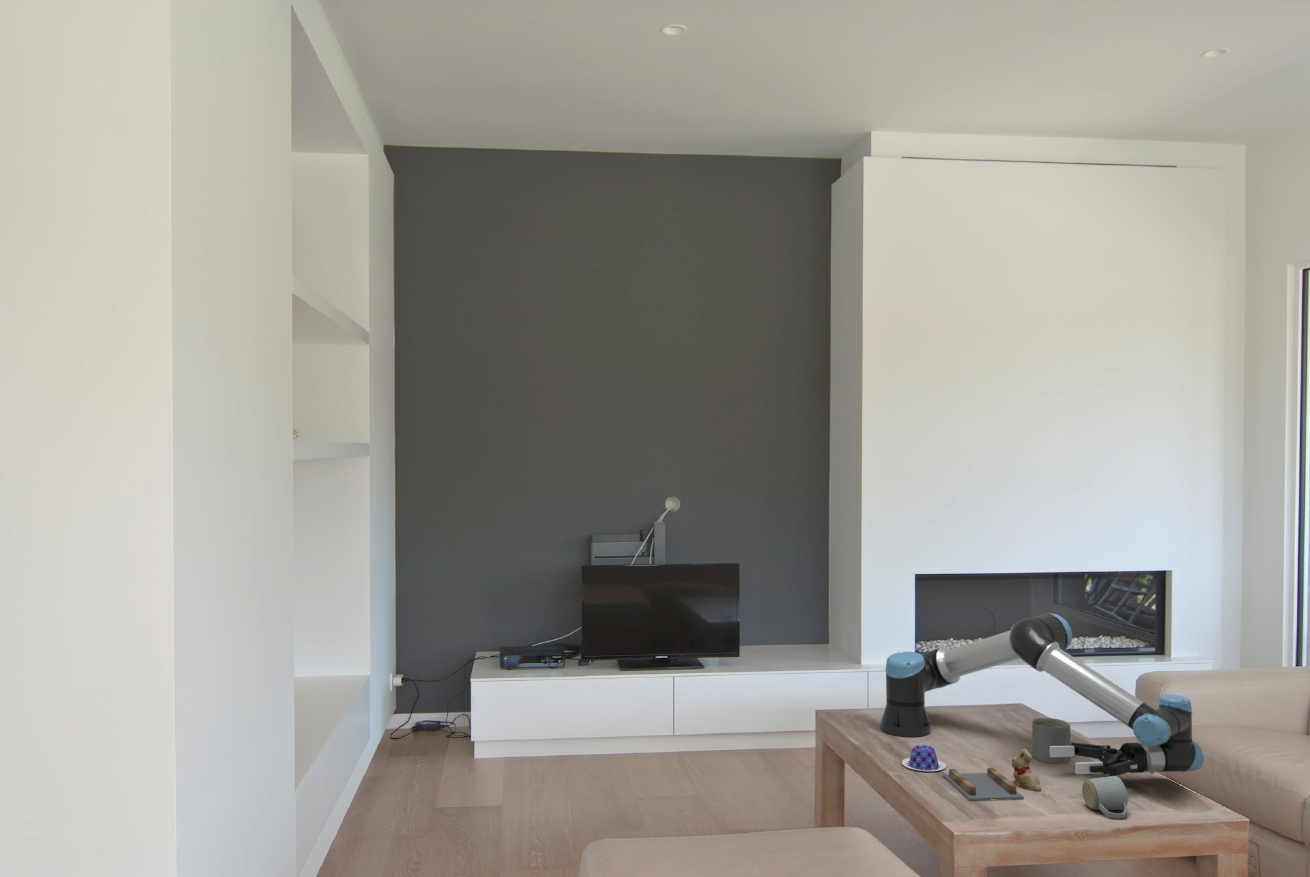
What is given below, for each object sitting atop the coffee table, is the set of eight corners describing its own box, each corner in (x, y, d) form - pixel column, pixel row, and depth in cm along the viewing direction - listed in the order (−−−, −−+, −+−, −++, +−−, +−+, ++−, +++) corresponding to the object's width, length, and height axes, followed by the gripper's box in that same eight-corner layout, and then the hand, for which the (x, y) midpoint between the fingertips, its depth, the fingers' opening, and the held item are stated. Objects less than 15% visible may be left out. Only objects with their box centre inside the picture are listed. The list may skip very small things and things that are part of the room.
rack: (949, 776, 253) (949, 768, 253) (992, 775, 254) (992, 767, 254) (970, 795, 239) (970, 787, 239) (1016, 794, 240) (1016, 786, 240)
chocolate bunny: (1030, 780, 251) (1030, 743, 251) (1043, 791, 243) (1043, 752, 244) (1010, 781, 251) (1009, 743, 251) (1022, 791, 243) (1021, 752, 243)
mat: (942, 776, 255) (942, 774, 255) (993, 774, 256) (993, 772, 256) (969, 800, 237) (969, 798, 237) (1023, 799, 238) (1023, 796, 238)
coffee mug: (1051, 765, 263) (1051, 729, 263) (1024, 755, 272) (1024, 720, 273) (1087, 759, 269) (1087, 723, 269) (1059, 749, 278) (1059, 714, 278)
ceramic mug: (1079, 803, 235) (1079, 772, 235) (1111, 802, 236) (1111, 771, 236) (1103, 821, 224) (1103, 788, 224) (1136, 819, 225) (1136, 787, 225)
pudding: (893, 761, 268) (893, 743, 268) (931, 758, 271) (931, 739, 271) (915, 775, 257) (915, 756, 257) (954, 771, 259) (954, 752, 259)
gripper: (1170, 788, 237) (1088, 791, 235) (1115, 756, 262) (1040, 759, 260) (1169, 758, 237) (1087, 760, 236) (1114, 729, 262) (1040, 731, 260)
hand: (1062, 759), depth 248 cm, fingers open, 13 cm apart
